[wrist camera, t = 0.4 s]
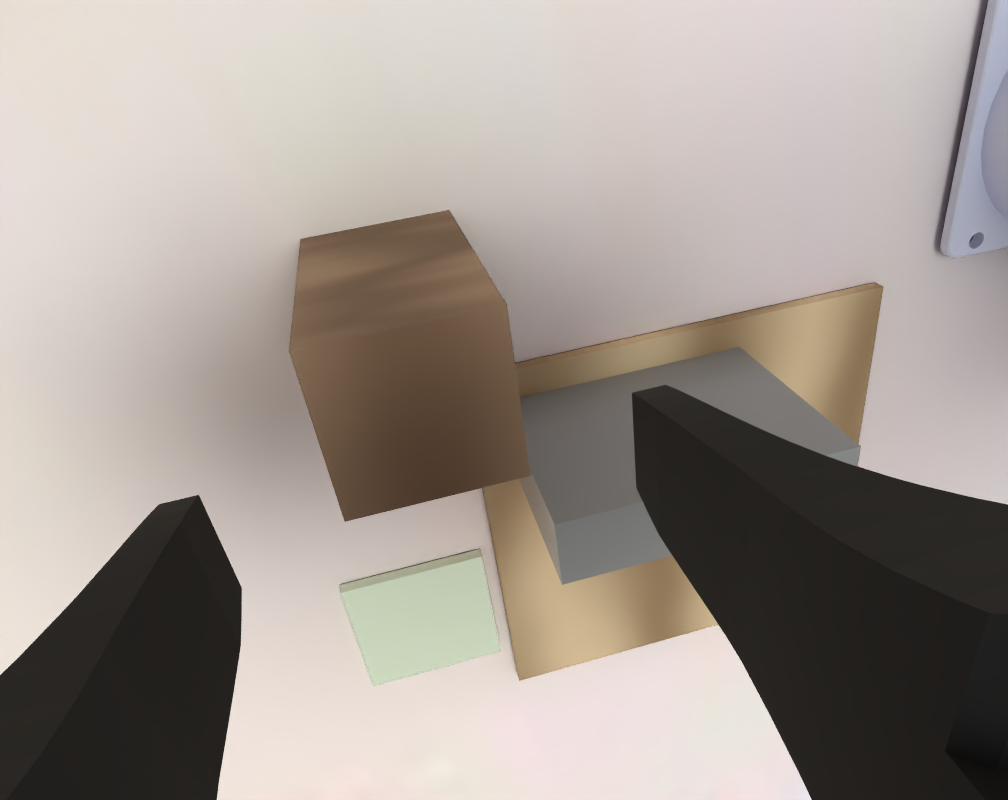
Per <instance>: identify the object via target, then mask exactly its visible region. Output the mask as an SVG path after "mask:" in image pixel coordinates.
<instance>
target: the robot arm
mask: <svg viewBox="0 0 1008 800" xmlns="http://www.w3.org/2000/svg"><path fill="white" fill-rule="evenodd" d="M973 235H974V237H973V239H972V240H971V242H970V243H969V241H970V239H971V237H972V236H973ZM1006 247H1008V0H988V5H987V10H986V15H985V20H984V26H983V31H982V36H981V41H980V46H979V51H978V56H977V61H976V66H975V71H974V76H973V81H972V86H971V92H970V97H969V102H968V107H967V112H966V117H965V122H964V127H963V132H962V137H961V142H960V147H959V152H958V158H957V163H956V168H955V173H954V178H953V183H952V188H951V193H950V198H949V203H948V208H947V213H946V218H945V223H944V229H943V234H942V239H941V247H940V249H941V251H942V253H943V254H945V255H947V256H949V257H952V258H961V257H965V256H970V255H974V254H979V253H983V252H988V251H992V250H997V249H1001V248H1006ZM632 410H633V431H634V452H635V473H636V488H637V491H638V493H639V495H640V497H641V499H642V501H643V503H644V506H645V508H646V510H647V512H648V514H649V516H650V518H651V520H652V522H653V524H654V526H655V528H656V530H657V532H658V534H659V536H660V537H661V539H662V540H663V542H664V544H665V545H666V547H667V548H668V550H669V551H670V553H671V554H672V556H673V557H674V559H675V560H676V562H677V563H678V565H679V566H680V568H681V569H682V571H683V572H684V574H685V575H686V577H687V578H688V580H689V581H690V583H691V584H692V586H693V587H694V589H695V590H696V592H697V593H698V595H699V596H700V598H701V599H702V601H703V602H704V604H705V605H706V607H707V608H708V610H709V611H710V613H711V614H712V616H713V617H714V619H715V620H716V622H717V623H718V625H719V626H720V628H721V629H722V631H723V632H724V634H725V635H726V636H727V638H728V640H729V641H730V643H731V645H732V646H733V648H734V650H735V651H736V653H737V654H738V656H739V658H740V659H741V661H742V663H743V665H744V667H745V669H746V670H747V672H748V674H749V676H750V678H751V680H752V682H753V684H754V686H755V687H756V689H757V691H758V693H759V695H760V697H761V699H762V701H763V703H764V704H765V706H766V708H767V710H768V712H769V714H770V716H771V718H772V720H773V722H774V724H775V726H776V728H777V730H778V732H779V734H780V736H781V738H782V740H783V742H784V744H785V746H786V748H787V750H788V752H789V754H790V756H791V758H792V760H793V762H794V764H795V766H796V768H797V770H798V772H799V774H800V776H801V778H802V780H803V782H804V784H805V786H806V788H807V790H808V792H809V795H810V797H811V799H812V800H1008V505H1007V504H1002V503H997V502H992V501H987V500H982V499H977V498H972V497H968V496H963V495H959V494H955V493H951V492H947V491H943V490H938V489H934V488H930V487H926V486H922V485H918V484H914V483H910V482H907V481H903V480H899V479H896V478H892V477H889V476H886V475H883V474H879V473H876V472H873V471H870V470H867V469H864V468H860V467H857V466H854V465H851V464H848V463H845V462H842V461H839V460H836V459H834V458H831V457H828V456H825V455H823V454H820V453H818V452H815V451H813V450H810V449H808V448H805V447H803V446H800V445H797V444H795V443H792V442H790V441H788V440H785V439H783V438H781V437H778V436H776V435H774V434H771V433H769V432H767V431H764V430H762V429H760V428H758V427H756V426H753V425H751V424H749V423H747V422H745V421H743V420H740V419H738V418H736V417H734V416H732V415H730V414H728V413H726V412H724V411H722V410H719V409H717V408H715V407H713V406H711V405H709V404H707V403H705V402H703V401H701V400H699V399H697V398H695V397H692V396H690V395H688V394H686V393H684V392H682V391H680V390H677V389H675V388H673V387H670V386H668V385H662V386H658V387H654V388H650V389H645V390H641V391H637V392H633V393H632ZM241 602H242V588H241V586H240V583H239V581H238V579H237V577H236V575H235V573H234V570H233V568H232V566H231V564H230V562H229V560H228V557H227V555H226V553H225V551H224V549H223V547H222V544H221V542H220V540H219V538H218V536H217V534H216V531H215V529H214V527H213V525H212V523H211V521H210V518H209V516H208V514H207V512H206V510H205V508H204V505H203V503H202V501H201V499H200V497H199V495H197V496H192V497H188V498H184V499H180V500H176V501H171V502H167V503H163V504H159V505H158V506H157V507H156V508H155V509H154V510H153V511H152V512H151V513H150V514H149V515H148V516H147V517H146V519H145V520H144V521H143V522H142V523H141V524H140V525H139V526H138V527H137V529H136V530H135V531H134V532H133V533H132V534H131V535H130V537H129V538H128V539H127V540H126V541H125V542H124V543H123V545H122V546H121V547H120V548H119V549H118V550H117V552H116V553H115V554H114V555H113V556H112V557H111V558H110V560H109V561H108V562H107V563H106V564H105V565H104V566H103V568H102V569H101V570H100V571H99V572H98V573H97V574H96V575H95V577H94V578H93V579H92V580H91V581H90V582H89V583H88V585H87V586H86V587H85V588H84V589H83V590H82V591H81V592H80V594H79V595H78V596H77V597H76V598H75V599H74V600H73V601H72V602H71V603H70V604H69V606H68V607H67V608H66V609H65V610H64V611H63V612H62V613H61V614H60V615H59V616H58V617H57V618H56V619H55V620H54V621H53V622H52V623H51V624H50V625H49V626H48V627H47V629H46V630H45V631H44V632H43V633H42V634H41V635H40V636H39V637H38V638H37V639H36V640H35V641H34V642H33V643H32V644H31V645H30V646H29V647H28V648H27V649H26V650H25V651H24V653H23V654H22V655H21V656H20V657H19V658H18V659H17V660H16V661H14V662H13V663H12V664H11V665H10V666H9V667H8V668H7V669H6V670H5V671H4V672H3V673H2V674H1V675H0V800H217V792H218V783H219V777H220V771H221V765H222V759H223V752H224V746H225V740H226V734H227V728H228V722H229V716H230V710H231V704H232V698H233V692H234V685H235V679H236V673H237V666H238V660H239V653H240V646H241Z"/></svg>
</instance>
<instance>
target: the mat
mask: <svg viewBox="0 0 1008 800" xmlns="http://www.w3.org/2000/svg"><path fill="white" fill-rule="evenodd" d="M882 292H883V286H881V285H879V284H877V283H870V284H866V285H862V286H857V287H853V288H848V289H844V290H839V291H835V292H830V293H826V294H821V295H817V296H813V297H808V298H804V299H799V300H795V301H790V302H786V303H781V304H777V305H773V306H768V307H764V308H759V309H755V310H750V311H746V312H741V313H737V314H733V315H728V316H724V317H719V318H715V319H710V320H706V321H701V322H697V323H693V324H688V325H684V326H679V327H675V328H670V329H666V330H661V331H657V332H653V333H648V334H644V335H639V336H635V337H630V338H626V339H621V340H617V341H613V342H608V343H604V344H599V345H595V346H590V347H586V348H581V349H577V350H573V351H568V352H564V353H559V354H555V355H550V356H546V357H541V358H537V359H533V360H528V361H524V362H519V363H515V368H516V375H517V383H518V390H519V397H520V398H521V397H525V396H529V395H534V394H538V393H542V392H547V391H551V390H555V389H560V388H564V387H568V386H573V385H577V384H581V383H586V382H590V381H594V380H599V379H603V378H607V377H611V376H616V375H620V374H624V373H629V372H633V371H637V370H642V369H646V368H650V367H655V366H659V365H663V364H668V363H672V362H676V361H681V360H685V359H689V358H694V357H698V356H702V355H707V354H711V353H715V352H720V351H724V350H728V349H733V348H737V347H740V348H742V349H743V350H744V351H745V352H746V353H748V354H749V355H750V356H751V357H753V358H754V359H755V360H756V361H757V362H759V363H760V364H761V365H762V366H764V367H765V368H766V369H767V370H768V371H770V372H771V373H772V374H773V375H774V376H776V377H777V378H778V379H779V380H781V381H782V382H783V383H784V384H785V385H787V386H788V387H789V388H790V389H791V390H793V391H794V392H795V393H796V394H798V395H799V396H800V397H801V398H802V399H804V400H805V401H806V402H807V403H809V404H810V405H811V406H812V407H813V408H815V409H816V410H817V411H818V412H819V413H821V414H822V415H823V416H824V417H826V418H827V419H828V420H829V421H830V422H832V423H833V424H834V425H835V426H837V427H838V428H839V429H840V430H841V431H843V432H844V433H845V434H846V435H847V436H849V437H850V438H851V439H852V440H854V441H855V442H856V443H857V444H858V443H859V437H860V431H861V424H862V418H863V412H864V406H865V399H866V393H867V387H868V380H869V374H870V368H871V361H872V355H873V349H874V342H875V336H876V330H877V324H878V317H879V311H880V305H881V298H882ZM483 493H484V498H485V504H486V509H487V514H488V520H489V525H490V530H491V536H492V541H493V546H494V552H495V557H496V562H497V568H498V573H499V578H500V584H501V589H502V594H503V600H504V605H505V610H506V616H507V621H508V626H509V632H510V637H511V642H512V648H513V653H514V658H515V664H516V669H517V674H518V677H519V681H520V680H524V679H527V678H531V677H534V676H538V675H541V674H545V673H548V672H552V671H555V670H559V669H562V668H566V667H569V666H573V665H577V664H580V663H584V662H587V661H591V660H594V659H598V658H601V657H605V656H608V655H612V654H615V653H619V652H623V651H626V650H630V649H633V648H637V647H640V646H644V645H647V644H651V643H654V642H658V641H661V640H665V639H669V638H672V637H676V636H679V635H683V634H686V633H690V632H693V631H697V630H700V629H704V628H707V627H711V626H715V625H718V623H717V622H716V620H715V619H714V617H713V616H712V614H711V613H710V611H709V610H708V608H707V607H706V605H705V604H704V602H703V601H702V599H701V598H700V596H699V595H698V593H697V592H696V590H695V589H694V587H693V586H692V584H691V583H690V581H689V580H688V578H687V577H686V575H685V574H684V572H683V571H682V569H681V568H680V566H679V565H678V563H677V562H676V560H675V559H674V557H673V556H669V557H665V558H661V559H657V560H654V561H650V562H646V563H642V564H639V565H635V566H631V567H627V568H624V569H620V570H616V571H612V572H609V573H605V574H601V575H597V576H594V577H590V578H586V579H583V580H579V581H575V582H571V583H568V584H564V585H562V584H561V581H560V579H559V576H558V574H557V571H556V569H555V566H554V564H553V562H552V559H551V557H550V554H549V552H548V549H547V547H546V544H545V542H544V540H543V537H542V535H541V532H540V530H539V527H538V525H537V523H536V520H535V518H534V515H533V513H532V510H531V508H530V505H529V503H528V501H527V498H526V496H525V493H524V491H523V488H522V486H521V483H520V481H519V479H516V480H512V481H508V482H504V483H499V484H495V485H491V486H487V487H483Z"/></svg>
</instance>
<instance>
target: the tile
mask: <svg viewBox="0 0 1008 800" xmlns="http://www.w3.org/2000/svg"><path fill="white" fill-rule="evenodd" d="M662 385H668V386H670V387H673V388H675V389H677V390H680V391H682V392H684V393H686V394H688V395H690V396H692V397H695V398H697V399H699V400H701V401H703V402H705V403H707V404H709V405H711V406H713V407H715V408H717V409H719V410H722V411H724V412H726V413H728V414H730V415H732V416H734V417H736V418H738V419H740V420H743V421H745V422H747V423H749V424H751V425H753V426H756V427H758V428H760V429H762V430H764V431H767V432H769V433H771V434H774V435H776V436H778V437H781V438H783V439H785V440H788V441H790V442H792V443H795V444H797V445H800V446H803V447H805V448H808V449H810V450H813V451H815V452H818V453H820V454H823V455H825V456H828V457H831V458H834V459H836V460H839V461H842V462H845V463H848V464H851V465H854V466H858V460H859V454H860V447H861V446H860V445H858V444H857V443H856V442H855V441H854V440H852V439H851V438H850V437H849V436H847V435H846V434H845V433H844V432H843V431H841V430H840V429H839V428H838V427H837V426H835V425H834V424H833V423H832V422H830V421H829V420H828V419H827V418H826V417H824V416H823V415H822V414H821V413H819V412H818V411H817V410H816V409H815V408H813V407H812V406H811V405H810V404H809V403H807V402H806V401H805V400H804V399H802V398H801V397H800V396H799V395H798V394H796V393H795V392H794V391H793V390H791V389H790V388H789V387H788V386H787V385H785V384H784V383H783V382H782V381H781V380H779V379H778V378H777V377H776V376H774V375H773V374H772V373H771V372H770V371H768V370H767V369H766V368H765V367H764V366H762V365H761V364H760V363H759V362H757V361H756V360H755V359H754V358H753V357H751V356H750V355H749V354H748V353H746V352H745V351H744V350H743V349H742V348H740V347H737V348H733V349H728V350H724V351H720V352H715V353H711V354H707V355H702V356H698V357H694V358H689V359H685V360H681V361H676V362H672V363H668V364H663V365H659V366H655V367H650V368H646V369H642V370H637V371H633V372H629V373H624V374H620V375H616V376H611V377H607V378H603V379H599V380H594V381H590V382H586V383H581V384H577V385H573V386H568V387H564V388H560V389H555V390H551V391H547V392H542V393H538V394H534V395H529V396H525V397H521V398H520V404H521V411H522V418H523V425H524V432H525V439H526V446H527V454H528V461H529V468H530V475H531V476H528V477H524V478H520V479H519V481H520V483H521V486H522V488H523V491H524V493H525V496H526V498H527V501H528V503H529V505H530V508H531V510H532V513H533V515H534V518H535V520H536V523H537V525H538V527H539V530H540V532H541V535H542V537H543V540H544V542H545V544H546V547H547V549H548V552H549V554H550V557H551V559H552V562H553V564H554V566H555V569H556V571H557V574H558V576H559V579H560V581H561V584H562V585H564V584H568V583H571V582H575V581H579V580H583V579H586V578H590V577H594V576H597V575H601V574H605V573H609V572H612V571H616V570H620V569H624V568H627V567H631V566H635V565H639V564H642V563H646V562H650V561H654V560H657V559H661V558H665V557H669V556H672V554H671V553H670V551H669V550H668V548H667V547H666V545H665V544H664V542H663V540H662V539H661V537H660V536H659V534H658V532H657V530H656V528H655V526H654V524H653V522H652V520H651V518H650V516H649V514H648V512H647V510H646V508H645V506H644V503H643V501H642V499H641V497H640V495H639V493H638V491H637V488H636V473H635V452H634V431H633V410H632V393H633V392H637V391H641V390H645V389H650V388H654V387H658V386H662Z"/></svg>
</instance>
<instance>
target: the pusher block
mask: <svg viewBox="0 0 1008 800" xmlns="http://www.w3.org/2000/svg"><path fill="white" fill-rule="evenodd" d="M289 352H290V355H291V358H292V362H293V365H294V368H295V371H296V374H297V377H298V380H299V383H300V386H301V389H302V392H303V395H304V398H305V401H306V404H307V407H308V410H309V414H310V417H311V420H312V423H313V426H314V429H315V432H316V435H317V438H318V441H319V444H320V447H321V450H322V453H323V456H324V459H325V462H326V465H327V469H328V472H329V475H330V478H331V481H332V484H333V487H334V490H335V493H336V496H337V499H338V502H339V505H340V508H341V511H342V514H343V517H344V520H345V521H349V520H353V519H357V518H361V517H365V516H370V515H374V514H378V513H382V512H386V511H390V510H394V509H398V508H402V507H406V506H410V505H414V504H418V503H422V502H426V501H430V500H435V499H439V498H443V497H447V496H451V495H455V494H459V493H463V492H467V491H471V490H475V489H479V488H483V487H487V486H491V485H495V484H499V483H504V482H508V481H512V480H516V479H520V478H524V477H528V476H531V475H530V468H529V461H528V454H527V446H526V439H525V432H524V425H523V418H522V411H521V404H520V397H519V390H518V383H517V375H516V368H515V361H514V354H513V347H512V340H511V333H510V326H509V319H508V312H507V305H506V303H505V301H504V299H503V298H502V296H501V294H500V293H499V291H498V290H497V288H496V286H495V285H494V283H493V281H492V280H491V278H490V276H489V275H488V273H487V272H486V270H485V268H484V267H483V265H482V263H481V262H480V260H479V258H478V257H477V255H476V253H475V252H474V250H473V249H472V247H471V245H470V244H469V242H468V240H467V239H466V237H465V235H464V234H463V232H462V231H461V229H460V227H459V226H458V224H457V222H456V221H455V219H454V217H453V216H452V214H451V212H450V211H449V210H447V211H442V212H437V213H432V214H427V215H422V216H417V217H411V218H406V219H401V220H396V221H391V222H386V223H381V224H376V225H370V226H365V227H360V228H355V229H350V230H345V231H340V232H334V233H329V234H324V235H319V236H314V237H309V238H304V239H301V240H300V249H299V259H298V269H297V278H296V288H295V297H294V307H293V317H292V326H291V336H290V346H289Z"/></svg>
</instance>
